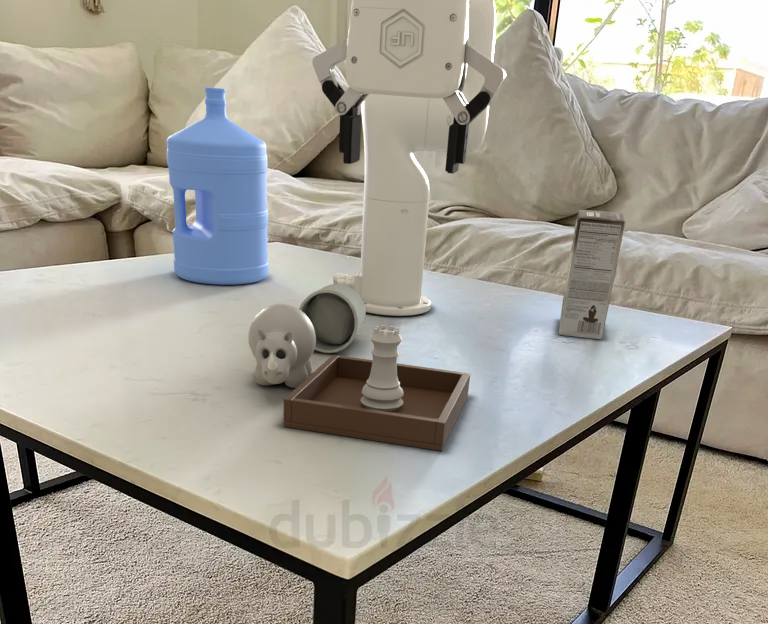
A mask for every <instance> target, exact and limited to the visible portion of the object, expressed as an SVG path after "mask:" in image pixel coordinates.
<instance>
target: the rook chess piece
mask: <svg viewBox="0 0 768 624" xmlns="http://www.w3.org/2000/svg"><path fill="white" fill-rule="evenodd" d="M386 328H387V326H386V324H380V326H379V325H375V326H374V327H373V332H372V333H371V334H370V336H369V339H370V341H371V342H372V344H373V349H371V351H370V354H371V355H372V360H373V361H372V367H371V372H370V376H369V379H368V380H367V381H366V384H365V385H364V387H363V389H362V394H363V395H364V396H363V397H361V400H360V401H361V402H362V404H363V405H364V407H365V408H367V409H372V410H379V411H385V412H392V411H396V410H398V409H399V408H400V407H401V406H402V405H403V402H404V401H403V400H402V399H401V398H402V397H403V394H404V393H403V389H402V388H401V387H400V386H399V385H400V382H399V381H398V377H397V364H396V363H397V361H398V356H400V353H399V351H398V346H399V345H400V343H402V341H403V337H402V336H401V334H400V327H396V326H395V325H389V329H386Z"/></svg>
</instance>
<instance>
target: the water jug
mask: <svg viewBox="0 0 768 624" xmlns="http://www.w3.org/2000/svg"><path fill="white" fill-rule="evenodd" d="M204 91H205V98H204V104H205V115H204V117H203V118H202V119H199V120H198V121H196V122H194V123H192V124H191V125H188V126H187V127H184V128H183V129H181V130H178V131H176V132H175V133H173V134H171V135H169V136H168V137H167V138H166V146H167V147H166V148H167V149H166V163H167V167H168V180H169V185H170V186H171V188H172V192H173V208H174V223H175V225H174V227H175V228H173V229H172V242H173V243H172V244H173V257H174V258H173V269H174V272H175V274H176V275H177V276H178V277H179V278H180V279H183V280H186V281H188V282H193V283H198V284H206V285H214V286H215V285H216V286H218V285H219V286H228V285H229V286H235V285H236V286H237V285H247V284H252V283H257V282H261V281H263V280H264V279H265V278H267V277H268V275H269V271H270V270H269V268H270V267H269V266H270V264H269V259H268V258H269V257H268V251H269V249H268V247H269V246H268V226H269V209H268V163H269V162H268V161H269V160H268V154H267V144H266V142H265V141H264V140H262V139H261V138H259V137H258V136H256V135H254V134H252V133H251V132H249V131H248V130H246V129H244V128H243V127H241V126H239V125H238V124H236V123H235V122H233V121H231V119H229V118H228V116H227V100H226V92H227V89H226V88H219V87H204ZM187 191H194V201H195V221H194V222H193V223H192V224H188V223H187V209H186V208H187V206H186V192H187Z"/></svg>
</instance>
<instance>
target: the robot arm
mask: <svg viewBox="0 0 768 624" xmlns="http://www.w3.org/2000/svg"><path fill="white" fill-rule="evenodd" d="M496 27H497V12H496V2H495V0H351V7H350V15H349V21H348V33H347V38H345V39H344V40H343V41H341V42H339V43H337V44H335V45H333V46H332V47H330V48H328V49H326V50H324V51H323V52H321V53H319V54H317V55H316V56H314V57H313V58H312V61H311V63H312V67H313V69H314V72H315V74H316V77H317V80H318V81H319V83H320V85H321V91H322V93H323V95H325V97H326V98H327V99H328V101H329V102H330V103H331V104H332V106H333V107H334V109H335V112H336V114H338V115H339V138H338V152H339V153H340V154H343V155H342V156H343V158H342V159H343V160H342V161H343V164H344V165H345V164H346V165H351V164H354V163H358V162H359V161H360V159H361V142H362V141H361V139H362V136H363V149H364V172H363V173H364V177H363V178H364V179H363V180H364V182H363V201H362V203H363V205H362V221H361V222H362V225H361V244H360V245H361V247H360V248H361V249H360V269H359V272H358V273H357V272H356V273H354V274H352V275H351V274H347V273H340V272H335V273H334V275H333V284H342V285H346V286H348V287H351V288H352V289H354V290H355V291H356V292H357V293H358V294H359V295H360V296H361V298H362V300H363V302H364V305H365V310H366V313H368V314H373V315H379V316H380V315H381V316H393V317H395V316H396V317H402V316H403V317H404V316H405V317H408V316H418V315H421V314H425V313H428V312H429V311H430V310H431V305H432V302H431V300H430V299H429V298H427V297H426V296H424V295H422V291H423V280H424V267H425V257H426V255H425V254H426V245H427V231H428V220H429V219H428V218H429V209H430V208H429V207H430V193H431V188H430V187H431V186H430V182H429V178H428V175H427V174H426V172H425V171H424V169H423V167H422V165H420V163H419V162H418V161H417V158H416V157H415V155H414V154H415V152H425V151H426V152H439V153H440V152H441V153H446V158H445V169H444V170H445V172H446V173H447V174H453V175H454V174H455V173H457V172H458V171H459V167H460V164H461V165H464V164H465V163H466V159H467V153H473V152H475V151H477V150H478V149H479V148H480V147H481V146H482V144H483V143H484V140H485V137H486V133H487V129H488V128H487V127H488V124H489V123H488V122H489V111H490V105H491V103H492V101H493V99H494V97H495V96H496V94H498V91H499V90H500V88H501V86H502V85H503V83H504V81H505V79H506V77H507V72H506V70H505V69H504V68H502V67H501V66H499V65H498V64H497V63H495V62H494V56H495V55H494V54H495V45H496V29H497V28H496ZM344 61H345V80H346V84H347V86H348V87H347V89H346V90H345V89H343V88H342V86H341V85H340V83H339V82H338V81H337V78H336V75H335V72H334V69H335V67H336V66H337V65H338V64H340V63H343V62H344ZM359 107H361V108H360V109H361V110H360V111H361V115H360V114H358V113H359V112H358V110H359ZM362 134H363V135H362Z"/></svg>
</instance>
